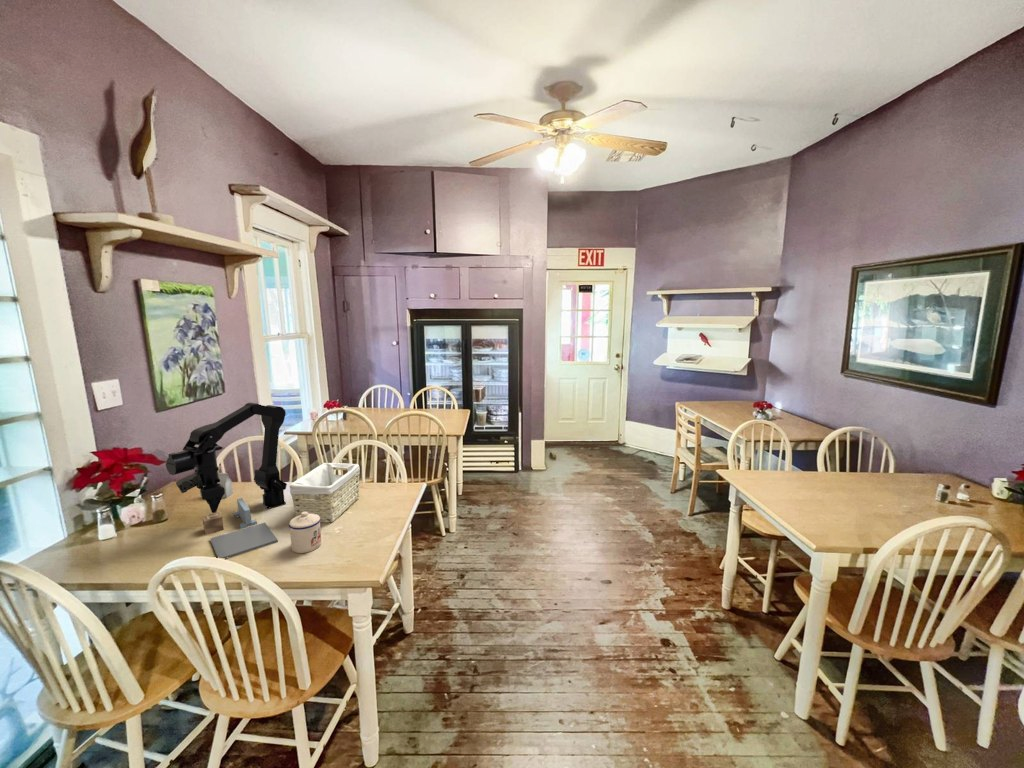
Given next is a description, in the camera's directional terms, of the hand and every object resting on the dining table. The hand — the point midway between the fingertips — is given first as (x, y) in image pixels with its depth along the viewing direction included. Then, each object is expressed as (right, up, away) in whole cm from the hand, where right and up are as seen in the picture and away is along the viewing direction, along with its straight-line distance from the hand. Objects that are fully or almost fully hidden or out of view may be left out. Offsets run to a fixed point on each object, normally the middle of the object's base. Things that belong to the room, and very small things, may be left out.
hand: (211, 508), depth 142 cm
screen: (+6, -7, +8) cm, 12 cm away
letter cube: (0, -8, +1) cm, 8 cm away
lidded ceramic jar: (+37, -10, -7) cm, 39 cm away
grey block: (-16, -4, +28) cm, 33 cm away
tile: (+15, -9, -6) cm, 19 cm away
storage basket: (+33, -6, +17) cm, 38 cm away
